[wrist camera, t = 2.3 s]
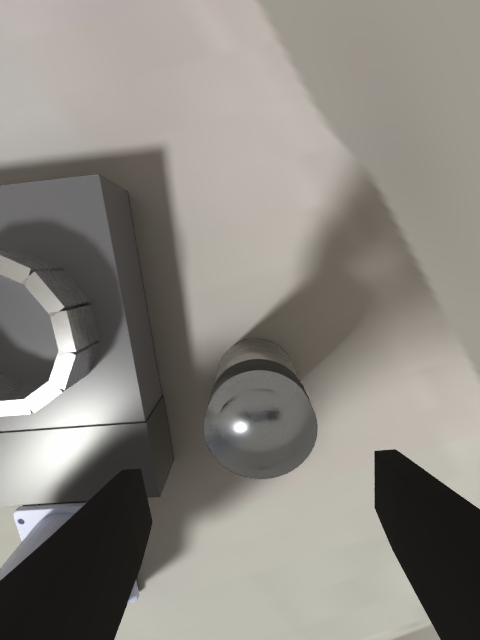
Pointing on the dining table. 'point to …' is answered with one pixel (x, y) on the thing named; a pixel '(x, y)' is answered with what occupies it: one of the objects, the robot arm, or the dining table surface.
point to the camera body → (75, 346)
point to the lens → (259, 412)
